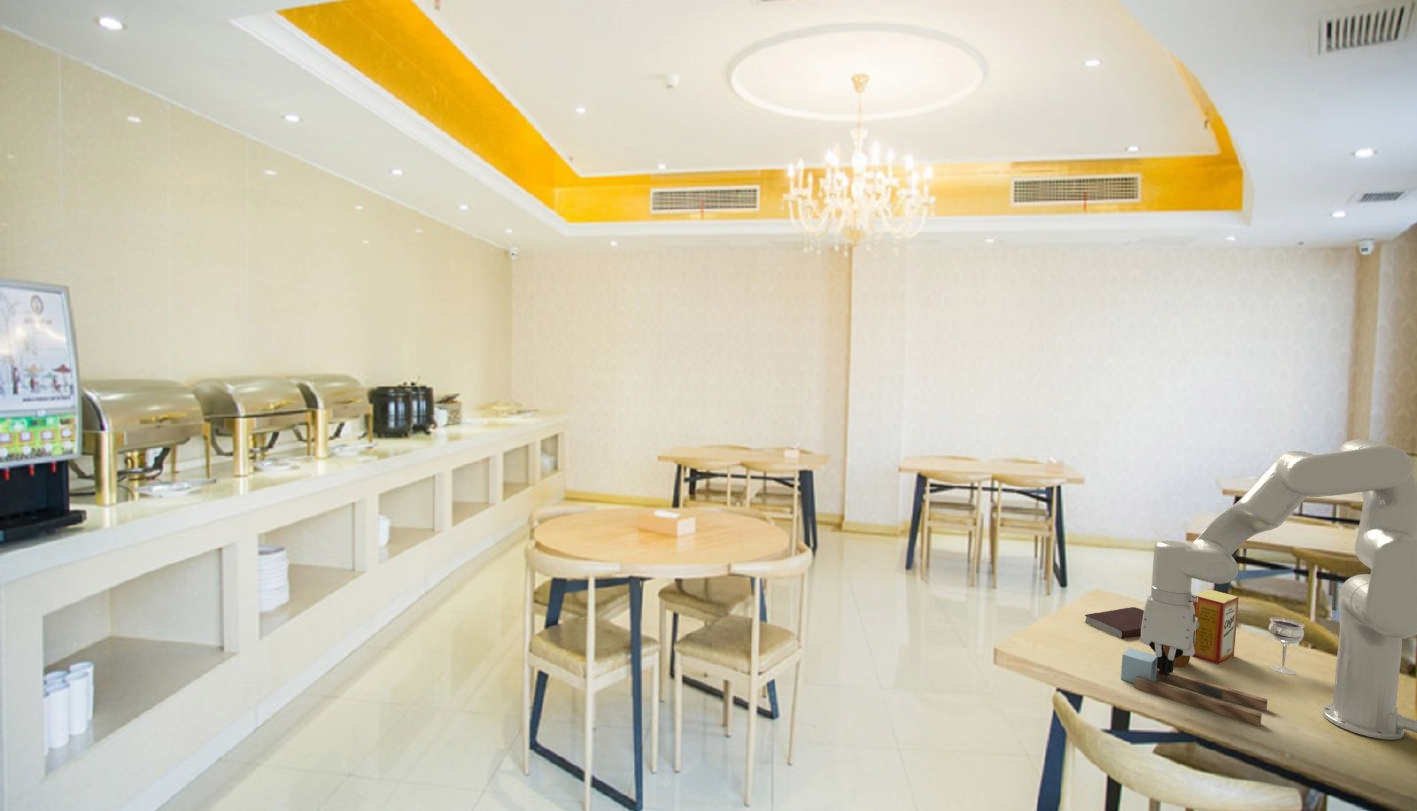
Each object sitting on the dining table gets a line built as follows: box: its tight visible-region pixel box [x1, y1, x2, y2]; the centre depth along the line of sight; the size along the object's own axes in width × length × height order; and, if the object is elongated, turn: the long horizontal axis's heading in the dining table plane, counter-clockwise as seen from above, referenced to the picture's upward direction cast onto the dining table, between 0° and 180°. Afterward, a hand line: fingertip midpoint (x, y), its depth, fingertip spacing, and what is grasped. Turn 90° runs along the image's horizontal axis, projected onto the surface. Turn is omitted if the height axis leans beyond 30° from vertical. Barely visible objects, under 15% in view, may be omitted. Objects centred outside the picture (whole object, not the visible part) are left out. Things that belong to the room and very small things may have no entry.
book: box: [1084, 606, 1144, 640], centre depth 199 cm, size 12×19×3 cm, turn 110°
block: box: [1120, 647, 1158, 684], centre depth 166 cm, size 6×6×6 cm
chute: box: [1133, 669, 1269, 727], centre depth 158 cm, size 23×10×2 cm, turn 45°
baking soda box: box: [1192, 588, 1240, 665], centre depth 181 cm, size 10×6×16 cm
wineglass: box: [1268, 616, 1305, 675], centre depth 173 cm, size 7×7×12 cm
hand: (1164, 673), depth 163 cm, fingers closed
